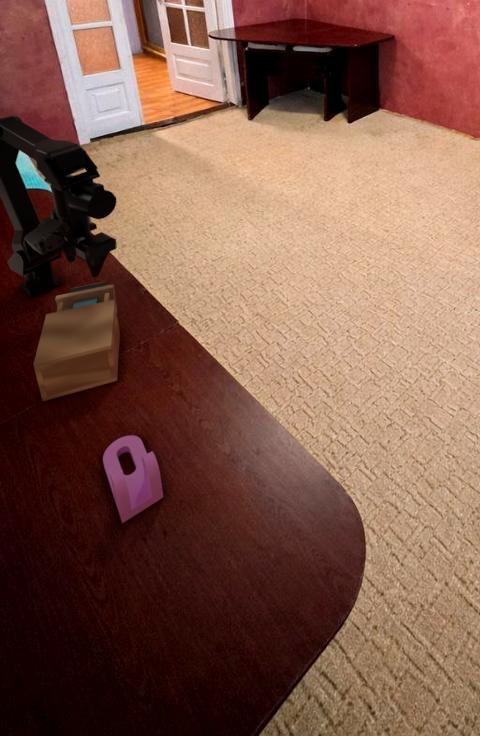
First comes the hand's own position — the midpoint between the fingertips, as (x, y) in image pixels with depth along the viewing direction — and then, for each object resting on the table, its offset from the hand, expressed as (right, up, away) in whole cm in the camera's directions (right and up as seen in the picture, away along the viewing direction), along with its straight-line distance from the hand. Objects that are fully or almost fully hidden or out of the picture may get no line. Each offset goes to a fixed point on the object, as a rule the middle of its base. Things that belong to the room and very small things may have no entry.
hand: (83, 268), depth 104 cm
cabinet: (+7, -16, -10) cm, 20 cm away
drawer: (+2, -12, -2) cm, 12 cm away
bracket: (+26, -25, -29) cm, 46 cm away
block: (+2, -11, -2) cm, 11 cm away
